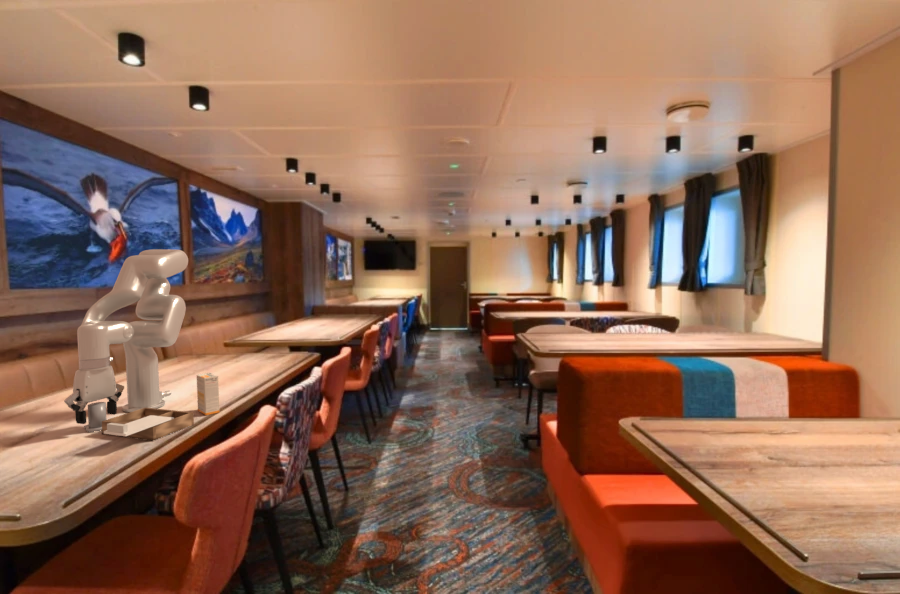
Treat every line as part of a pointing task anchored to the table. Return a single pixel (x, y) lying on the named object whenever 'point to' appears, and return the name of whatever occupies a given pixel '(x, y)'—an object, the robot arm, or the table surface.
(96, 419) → the grey cylinder
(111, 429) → the lid
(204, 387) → the supplement box
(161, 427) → the housing
